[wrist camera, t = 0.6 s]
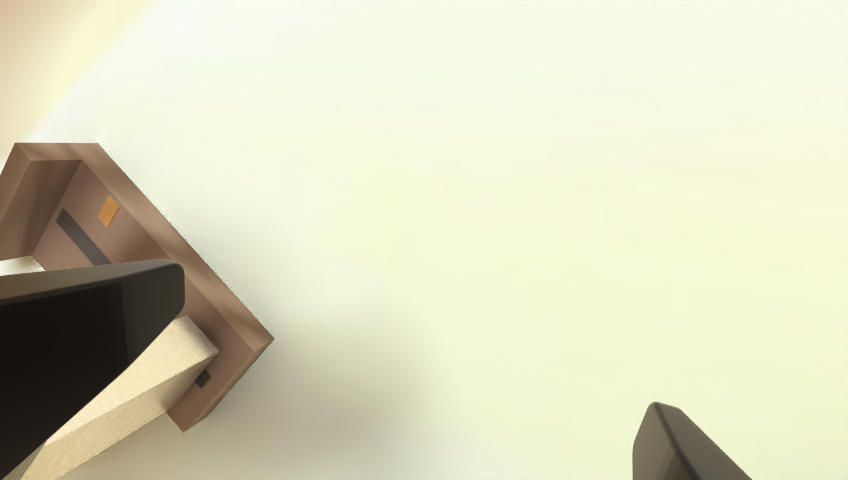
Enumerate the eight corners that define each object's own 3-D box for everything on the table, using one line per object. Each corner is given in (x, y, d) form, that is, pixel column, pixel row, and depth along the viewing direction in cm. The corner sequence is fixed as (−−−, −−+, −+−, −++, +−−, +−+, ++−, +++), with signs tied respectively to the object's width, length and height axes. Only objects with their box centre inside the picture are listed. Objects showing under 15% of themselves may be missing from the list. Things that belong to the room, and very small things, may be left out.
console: (274, 338, 31) (217, 373, 26) (206, 417, 34) (144, 459, 29) (97, 143, 32) (14, 142, 28) (48, 234, 36) (-33, 247, 31)
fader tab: (223, 346, 29) (-11, 471, 18) (170, 411, 31) (-65, 557, 20) (190, 309, 29) (-59, 410, 18) (140, 376, 31) (-107, 502, 20)
